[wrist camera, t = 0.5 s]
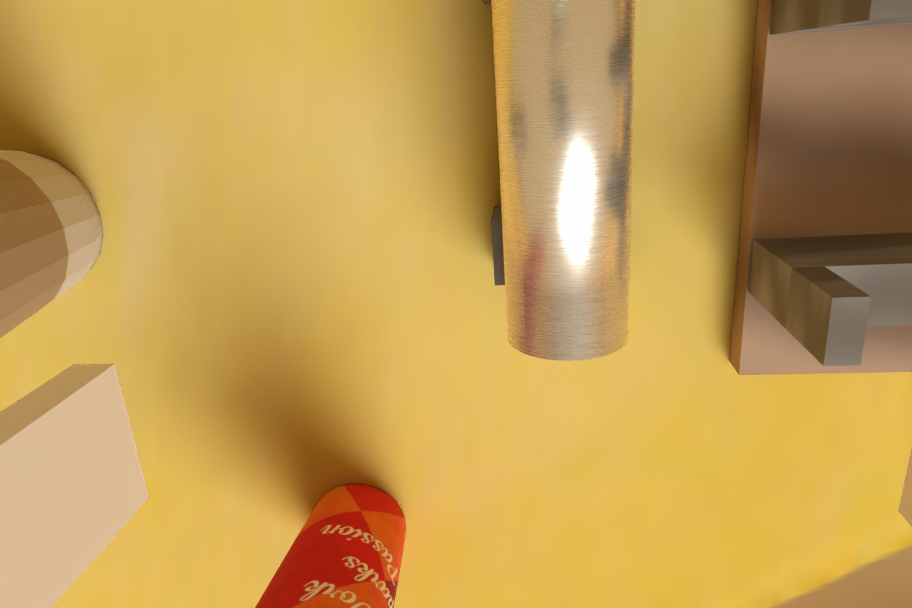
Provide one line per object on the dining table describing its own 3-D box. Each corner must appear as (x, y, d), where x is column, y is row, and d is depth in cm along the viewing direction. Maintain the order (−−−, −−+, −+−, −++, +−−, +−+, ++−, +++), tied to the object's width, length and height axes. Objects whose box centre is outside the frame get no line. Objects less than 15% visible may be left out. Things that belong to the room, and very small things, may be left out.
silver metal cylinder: (482, -141, 24) (477, -195, 19) (626, -156, 23) (659, -216, 18) (504, 315, 30) (505, 363, 25) (619, 310, 29) (642, 358, 24)
